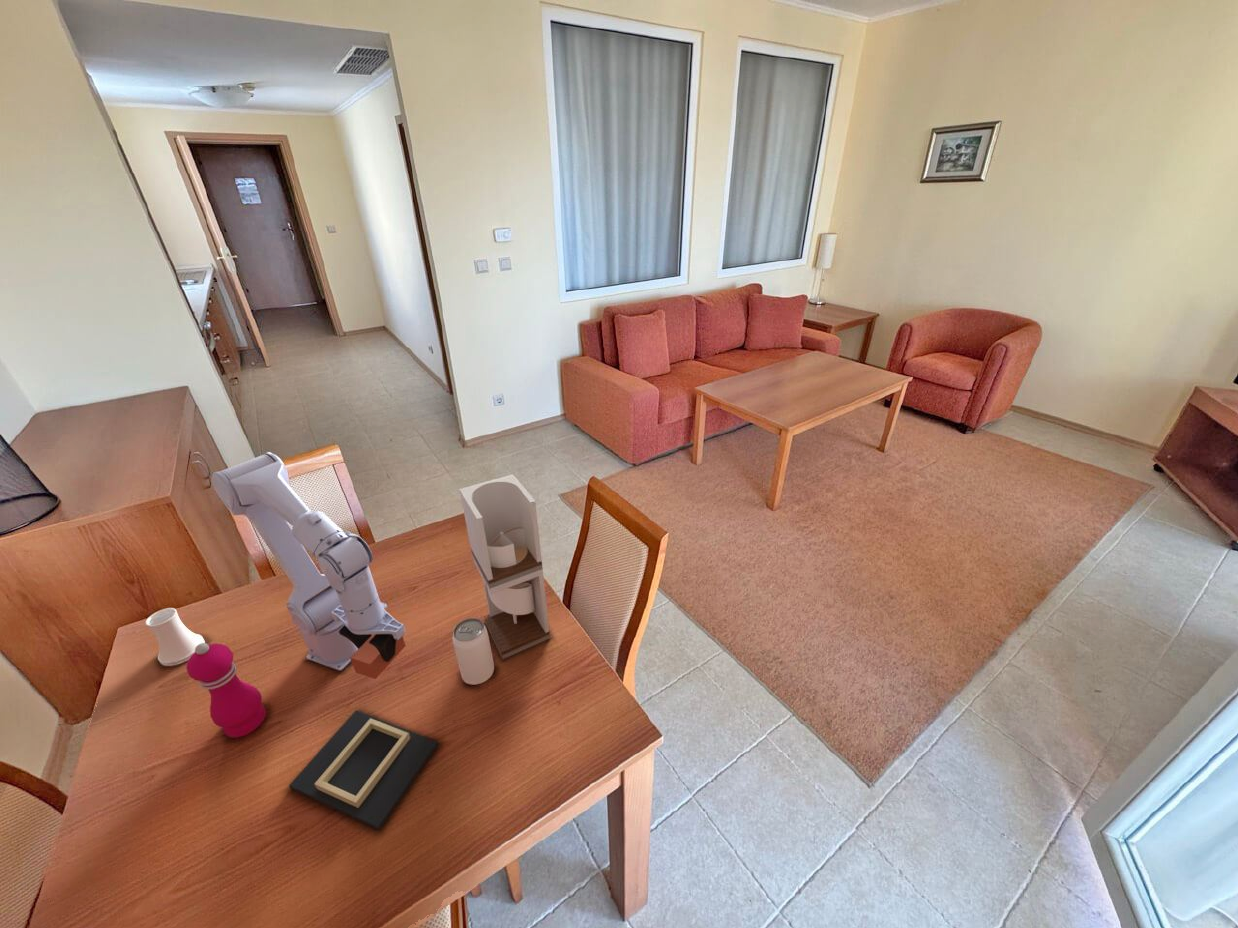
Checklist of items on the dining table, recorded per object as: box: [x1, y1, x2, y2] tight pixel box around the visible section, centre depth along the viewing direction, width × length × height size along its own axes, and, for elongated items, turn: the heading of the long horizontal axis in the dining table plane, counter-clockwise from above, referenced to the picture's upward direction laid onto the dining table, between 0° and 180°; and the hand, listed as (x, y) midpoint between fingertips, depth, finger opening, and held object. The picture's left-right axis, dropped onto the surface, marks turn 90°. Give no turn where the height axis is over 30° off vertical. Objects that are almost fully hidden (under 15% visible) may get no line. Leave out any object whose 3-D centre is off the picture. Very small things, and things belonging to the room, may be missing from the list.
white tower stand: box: [458, 474, 551, 660], centre depth 100 cm, size 11×11×35 cm
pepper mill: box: [186, 642, 267, 739], centre depth 85 cm, size 7×7×20 cm
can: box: [452, 617, 495, 686], centre depth 96 cm, size 6×6×12 cm
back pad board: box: [288, 709, 439, 831], centre depth 82 cm, size 18×14×2 cm
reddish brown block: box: [350, 634, 406, 680], centre depth 92 cm, size 5×8×4 cm, turn 161°
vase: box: [145, 607, 206, 667], centre depth 102 cm, size 8×8×10 cm
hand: (379, 653), depth 93 cm, fingers closed on reddish brown block, 4 cm apart
